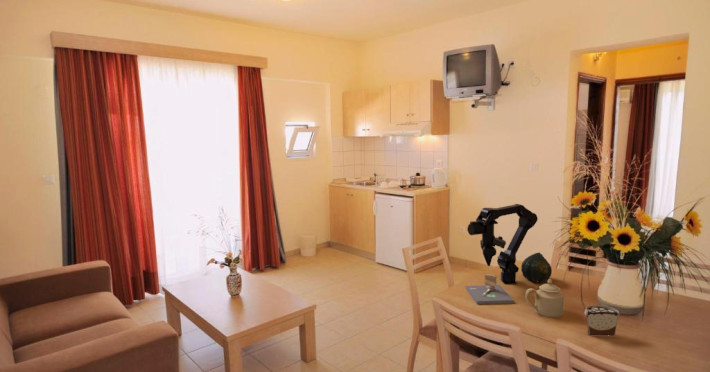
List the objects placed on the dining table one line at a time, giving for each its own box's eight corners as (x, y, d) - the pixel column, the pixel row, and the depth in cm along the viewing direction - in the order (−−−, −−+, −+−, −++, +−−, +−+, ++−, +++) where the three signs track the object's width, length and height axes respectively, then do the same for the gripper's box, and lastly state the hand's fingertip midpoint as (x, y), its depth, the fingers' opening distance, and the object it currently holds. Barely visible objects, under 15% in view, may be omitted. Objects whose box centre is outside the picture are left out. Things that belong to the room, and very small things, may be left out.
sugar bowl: (545, 322, 171) (547, 287, 169) (523, 312, 181) (524, 279, 179) (568, 313, 178) (570, 280, 176) (545, 304, 188) (546, 272, 186)
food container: (610, 328, 164) (612, 304, 163) (619, 336, 158) (620, 311, 157) (577, 328, 165) (579, 304, 164) (584, 335, 159) (586, 310, 158)
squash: (521, 274, 211) (542, 252, 210) (511, 266, 226) (530, 245, 225) (542, 292, 212) (563, 270, 210) (531, 283, 227) (550, 262, 225)
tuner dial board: (499, 287, 209) (499, 284, 209) (514, 303, 190) (514, 299, 190) (465, 288, 209) (465, 285, 209) (476, 304, 190) (476, 300, 190)
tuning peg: (486, 286, 206) (487, 273, 205) (497, 289, 203) (497, 275, 202) (478, 294, 197) (478, 280, 196) (488, 296, 194) (489, 282, 193)
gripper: (507, 238, 199) (507, 269, 201) (502, 228, 217) (502, 257, 219) (483, 237, 201) (483, 268, 203) (480, 228, 219) (480, 257, 221)
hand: (487, 263), depth 212 cm, fingers open, 9 cm apart
